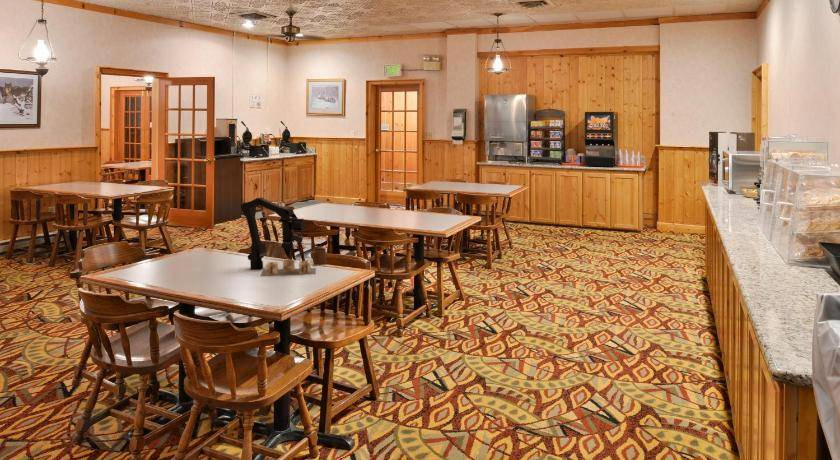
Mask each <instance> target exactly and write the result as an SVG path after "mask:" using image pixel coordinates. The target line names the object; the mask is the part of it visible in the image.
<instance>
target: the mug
mask: <svg viewBox="0 0 840 460" xmlns="http://www.w3.org/2000/svg"><path fill="white" fill-rule="evenodd" d="M310 258H311V259H312V261H313V262H312V263H313V265H317V266H321V265H322V266H323V265H326V264H327V250H326V248H324V247H318V248H317V247H316V248H313V249H312V250H311V252H310Z"/></svg>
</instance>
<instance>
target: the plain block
mask: <svg viewBox="0 0 840 460" xmlns="http://www.w3.org/2000/svg"><path fill="white" fill-rule="evenodd" d="M282 269H283V272H294V270H295V269H296V268H295V259H294V258H293V259H283V261H282Z"/></svg>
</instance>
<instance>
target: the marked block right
mask: <svg viewBox="0 0 840 460" xmlns="http://www.w3.org/2000/svg"><path fill="white" fill-rule="evenodd" d="M310 268H311V260H302V261H301V260H300V261H299V262H298V269H299V274H310ZM310 275H311V274H310Z"/></svg>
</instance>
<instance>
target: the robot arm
mask: <svg viewBox="0 0 840 460" xmlns="http://www.w3.org/2000/svg"><path fill="white" fill-rule="evenodd" d="M258 207H263V208H265V209H266V210H269V211H272V212H274V213H276V215H277V216H279V217H280V219H279V220H278V223H281V225H282V227H281V228H282V229H281V231H282V232H281V233H282V242H281V245H280V246H281V248H283V251H284V253H285V255H286V256H287V258H290V257H291V249H293V247H294V243H295V242H296V243H299V244H302V243H303V239H304V236H302V234H301V233H297V234H295V232H294V231H296V232H297V231H298V232H305V230H306V227H307V224H306V221H305V220H304V218H298V217H297V215H296V214H295V212H294V209H293V208H292V207H289V206H286V205H285V206H283V205H279V204H277V203H275V202H272V201H270V200H268V199H265V198H264V197H262V196H260V197H257V198H255V199H253V200H250V201H246V202H243V203H241V205H240V210H241V212H242V214H243V216H244V217H245V218H246V223H247V226H248V231H249V234H250V239H251V246H250V253H249V254H248V255H247V259H248V261H249V262H250V263H249V264H250V269H249V270H250V271H253V270H255V271H256V270H264V260H263V258H264V256H265V255H266V253H267V247H266V243H265V242H262V240H261V237H260V231H259V228H258V224H257V219H256V213H257V208H258Z"/></svg>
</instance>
